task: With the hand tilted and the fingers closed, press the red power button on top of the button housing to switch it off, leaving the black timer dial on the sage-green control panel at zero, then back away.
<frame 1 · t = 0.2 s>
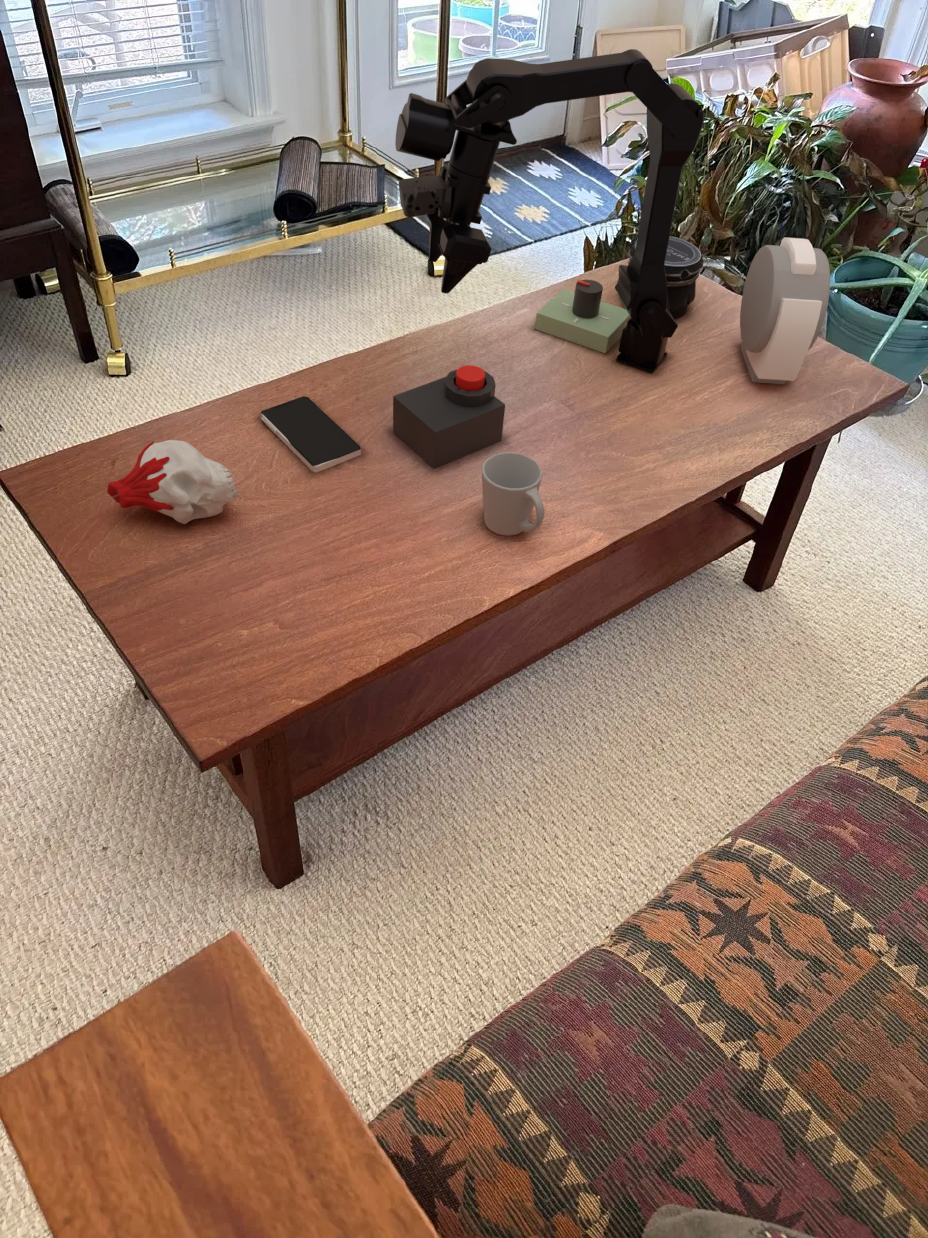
hand: (438, 276, 136), 15 cm above the table, tool pointing down, fingers open, 9 cm apart
button housing: (447, 436, 136), on the table
cup: (511, 528, 123), on the table
candle: (175, 508, 122), on the table
timer panel: (582, 328, 159), on the table
smartphone: (310, 437, 134), on the table
timer knob: (587, 298, 155), point 5 cm above the table, hinge at 0.0°
container: (654, 305, 166), on the table
power button: (470, 378, 131), point 8 cm above the table, slide at 0.1 cm
alarm clock: (761, 366, 154), on the table
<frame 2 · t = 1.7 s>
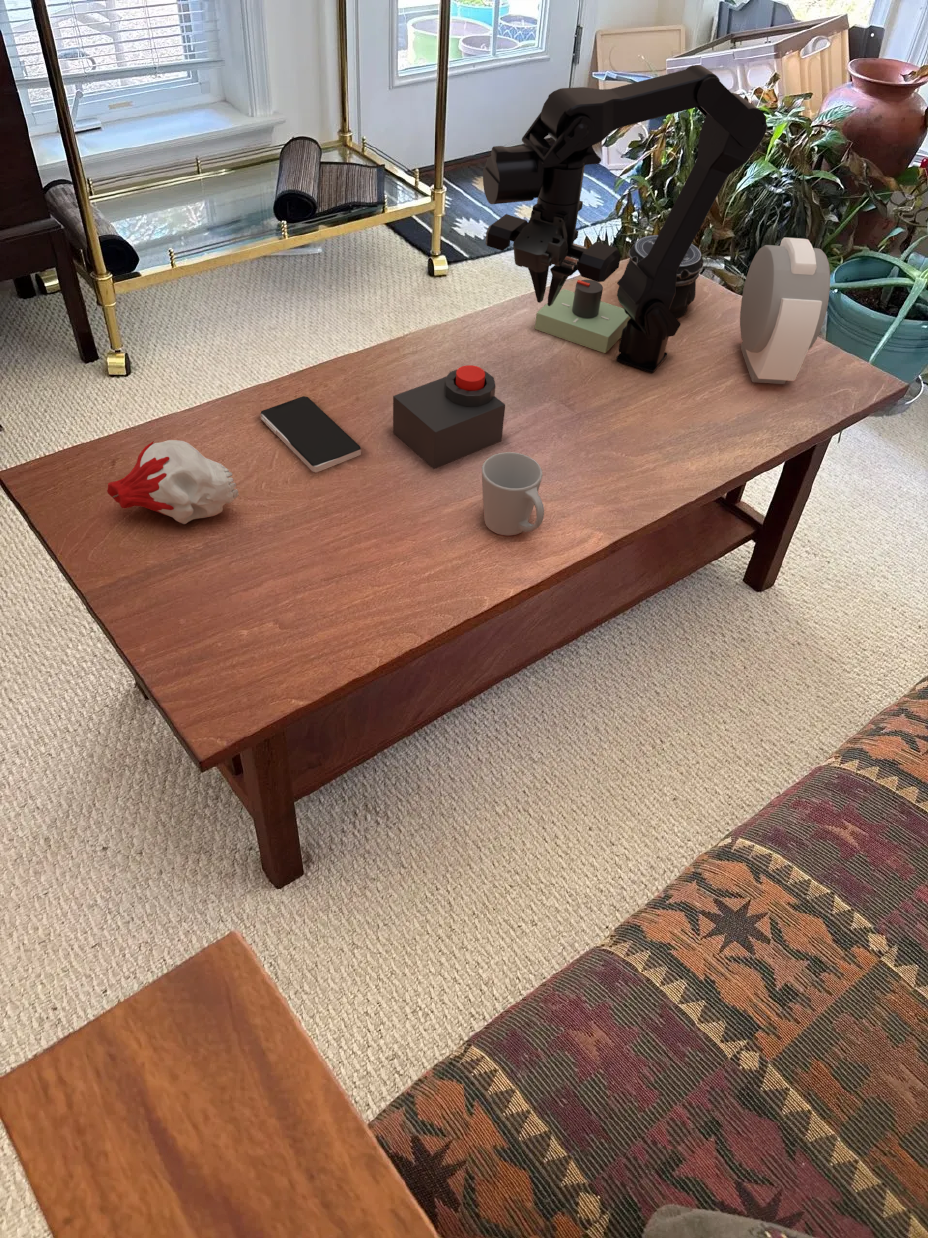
hand: (545, 303, 139), 12 cm above the table, tool pointing down, fingers closed
nothing on the table moved.
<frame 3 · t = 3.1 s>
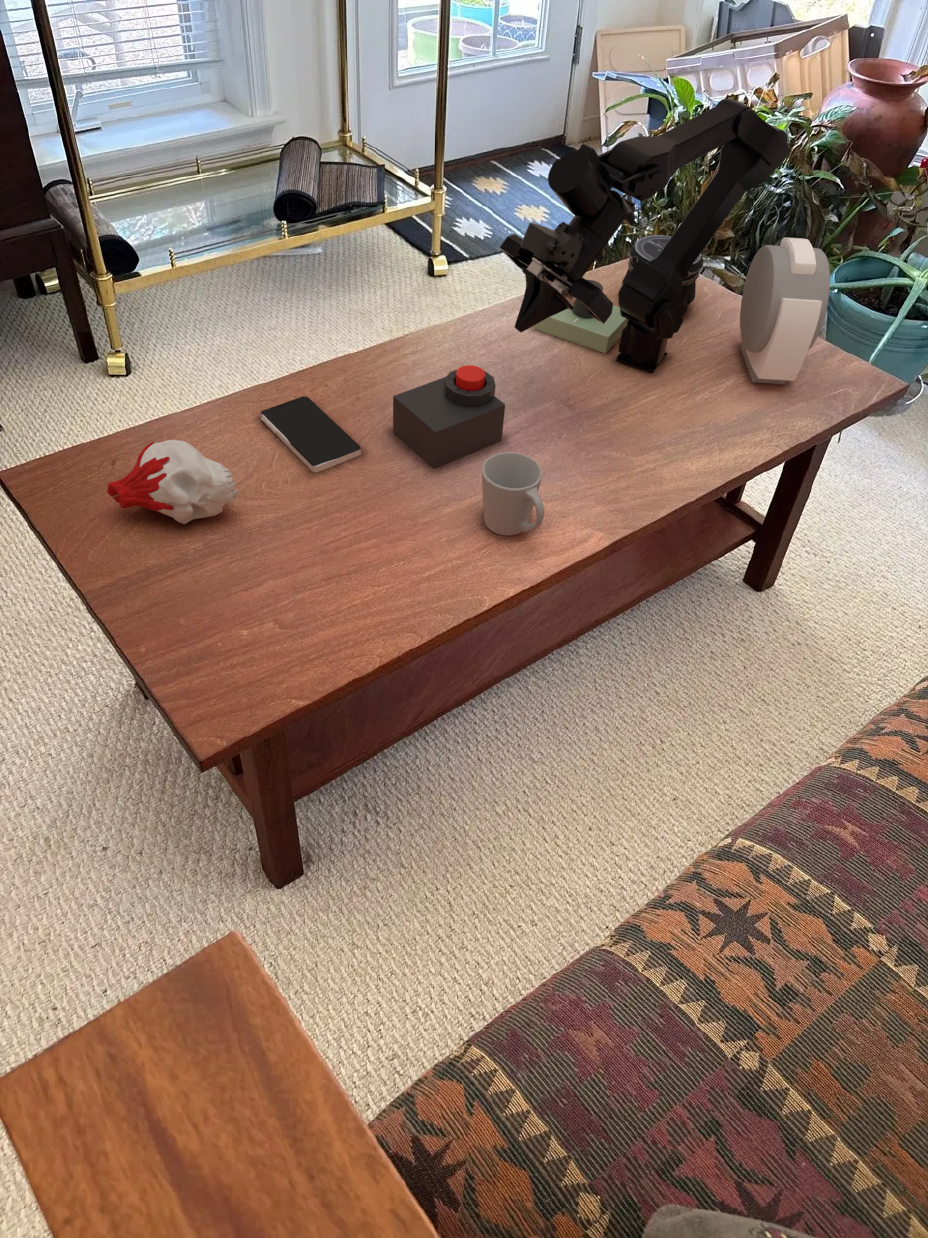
hand: (517, 329, 131), 13 cm above the table, tool tilted 45°, fingers closed
nothing on the table moved.
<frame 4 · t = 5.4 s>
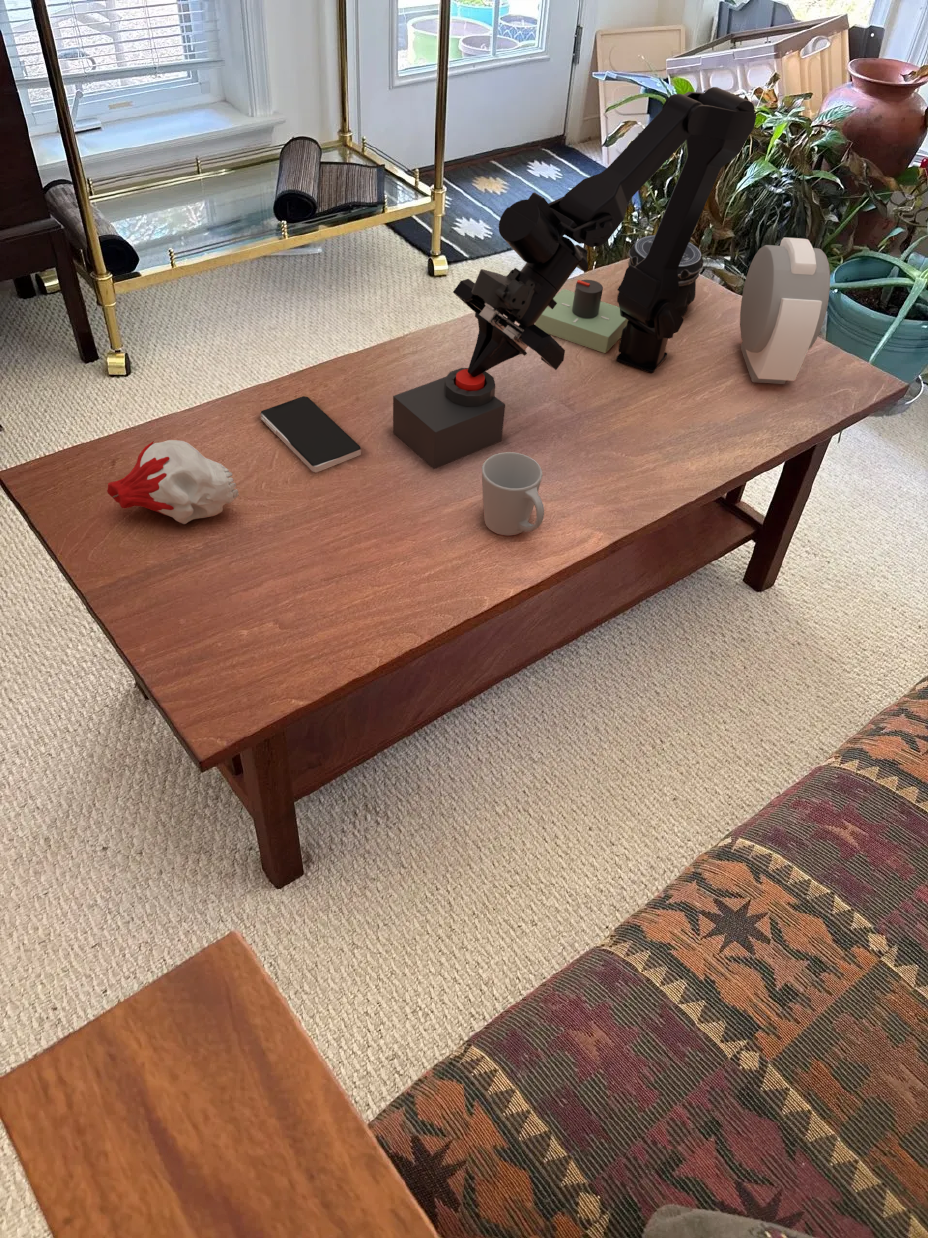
hand: (470, 374, 131), 9 cm above the table, tool tilted 45°, fingers closed, pressing on power button
power button: (470, 381, 131), point 8 cm above the table, slide at -0.5 cm, touching gripper
everything else where it was.
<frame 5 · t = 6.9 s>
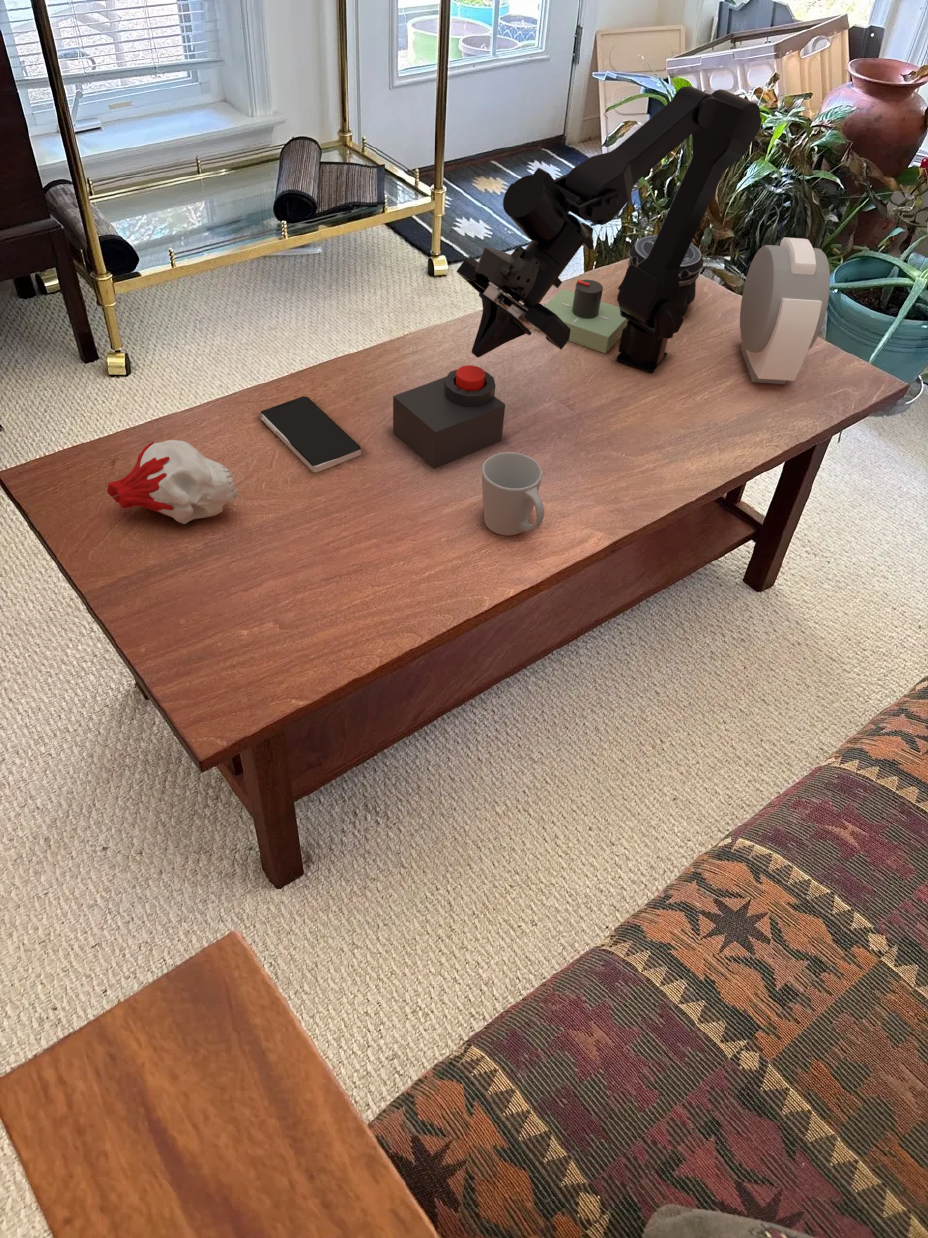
hand: (474, 355, 129), 12 cm above the table, tool tilted 45°, fingers closed
power button: (470, 378, 131), point 8 cm above the table, slide at 0.1 cm
everything else where it was.
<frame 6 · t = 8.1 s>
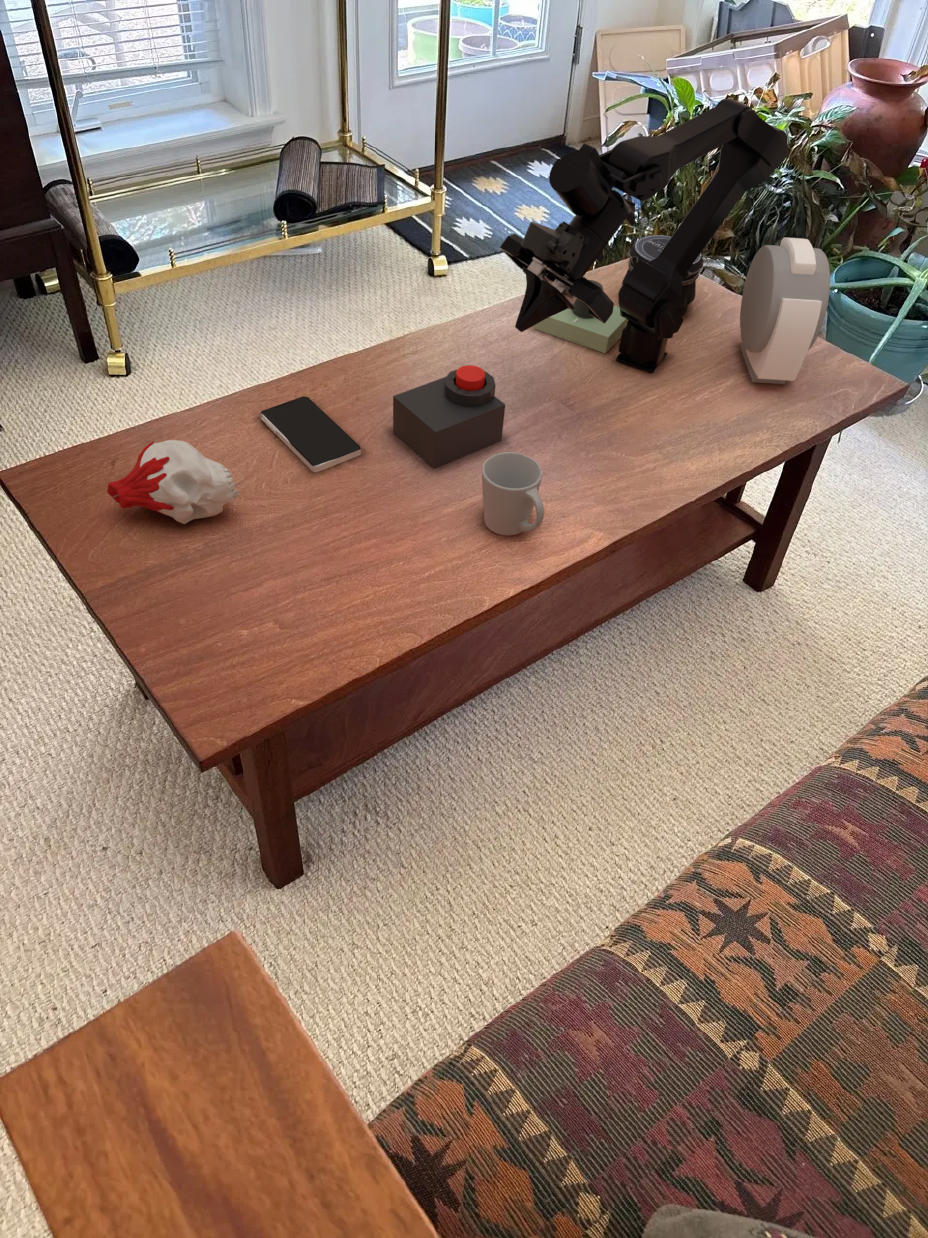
hand: (518, 329, 131), 13 cm above the table, tool tilted 45°, fingers closed
nothing on the table moved.
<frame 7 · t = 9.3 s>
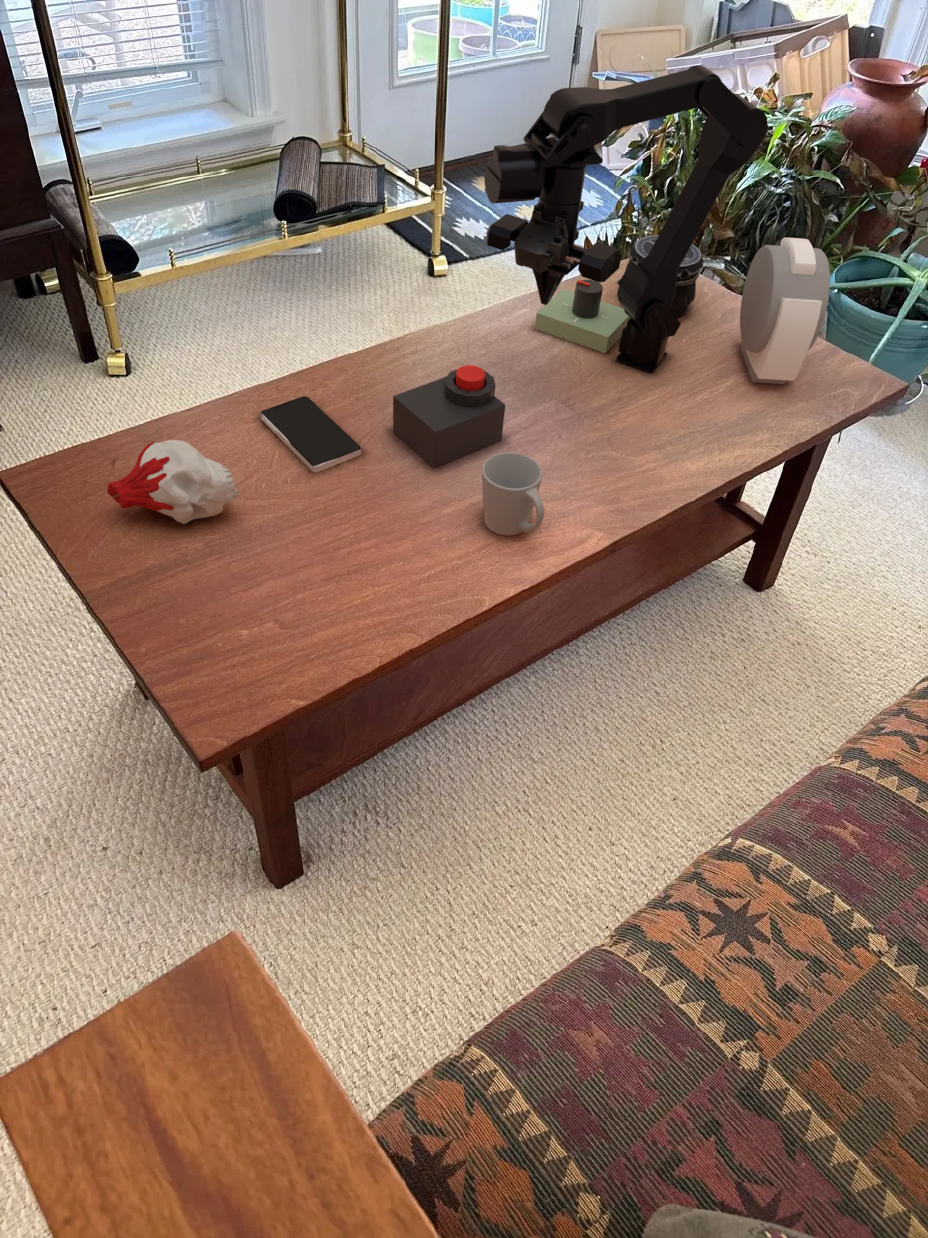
hand: (545, 303, 139), 12 cm above the table, tool pointing down, fingers closed
nothing on the table moved.
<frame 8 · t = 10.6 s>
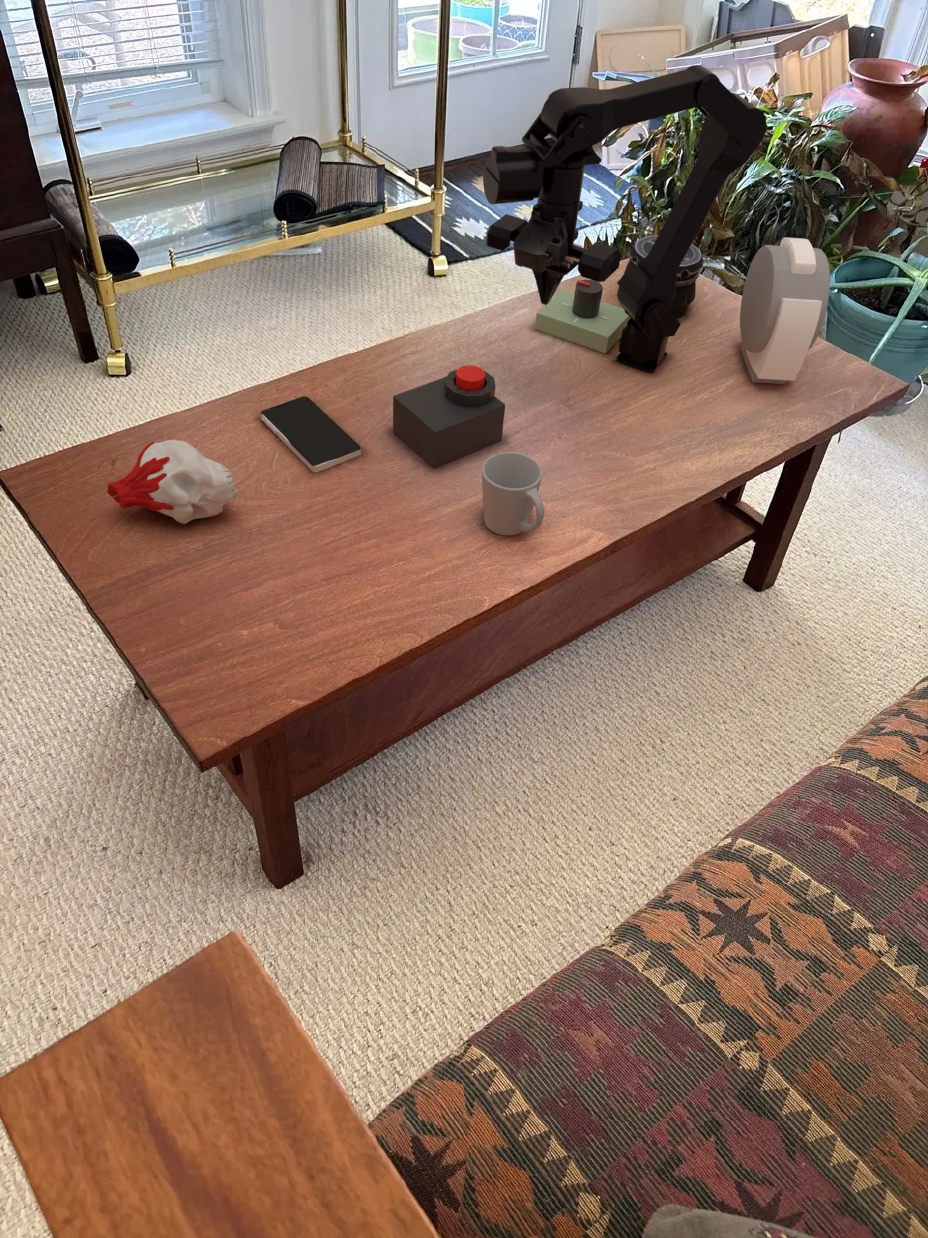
hand: (545, 303, 139), 12 cm above the table, tool pointing down, fingers closed
nothing on the table moved.
at the end: power button pushed in 1.3 cm at the most during the clip, back to where it started at the end; power button slide at 0.1 cm; timer knob at +0° (first picture: +0°) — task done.
